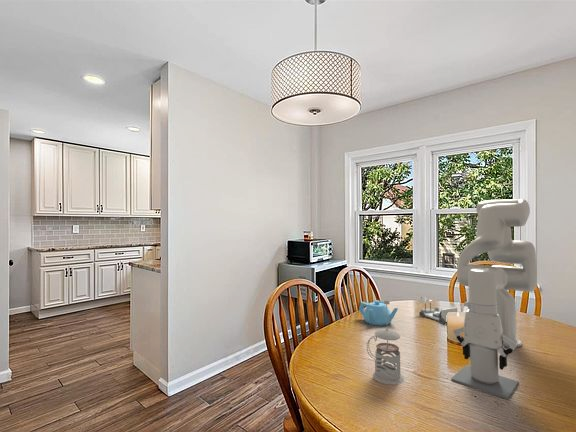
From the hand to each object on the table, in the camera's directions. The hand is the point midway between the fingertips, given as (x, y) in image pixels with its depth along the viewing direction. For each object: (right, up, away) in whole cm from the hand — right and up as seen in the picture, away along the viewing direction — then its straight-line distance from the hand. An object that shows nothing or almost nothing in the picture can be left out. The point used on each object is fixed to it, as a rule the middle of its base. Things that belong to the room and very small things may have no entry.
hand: (484, 362), depth 97 cm
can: (0, -5, 0) cm, 5 cm away
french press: (-30, -7, +4) cm, 31 cm away
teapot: (-16, -8, +59) cm, 62 cm away
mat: (0, -6, 0) cm, 6 cm away
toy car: (+17, -8, +65) cm, 67 cm away
